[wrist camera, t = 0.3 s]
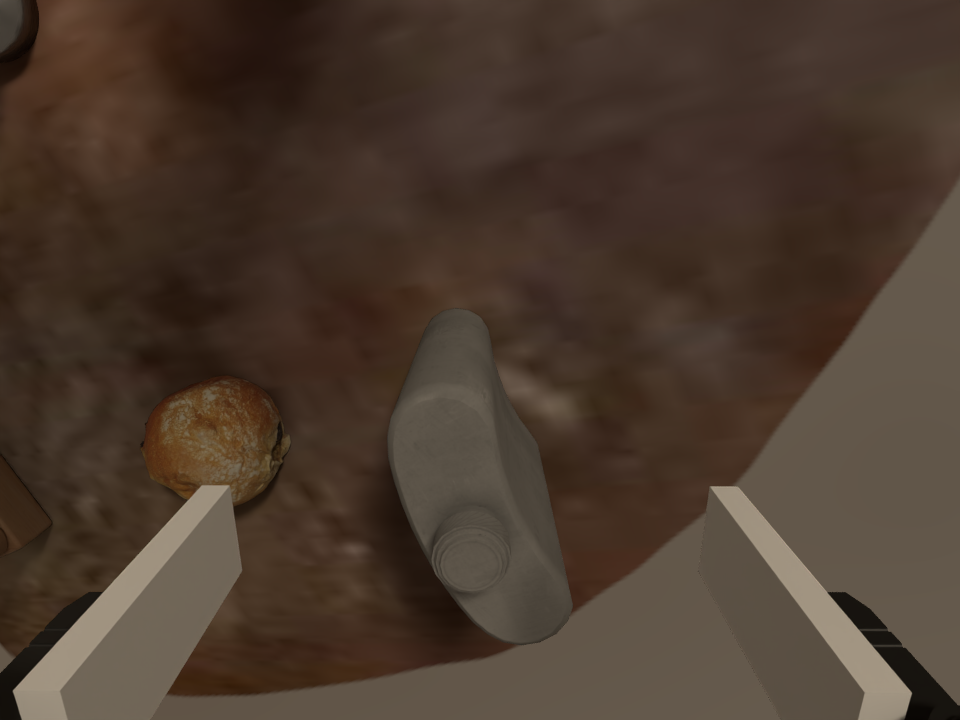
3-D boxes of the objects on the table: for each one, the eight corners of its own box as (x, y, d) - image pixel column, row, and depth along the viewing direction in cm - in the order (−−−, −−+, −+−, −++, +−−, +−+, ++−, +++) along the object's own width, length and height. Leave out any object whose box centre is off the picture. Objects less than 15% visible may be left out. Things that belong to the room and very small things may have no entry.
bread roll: (293, 464, 50) (308, 505, 43) (162, 501, 46) (155, 552, 39) (268, 356, 47) (279, 380, 40) (126, 386, 43) (111, 418, 36)
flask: (402, 327, 43) (338, 443, 23) (474, 297, 42) (469, 391, 23) (480, 492, 47) (481, 707, 27) (548, 467, 46) (596, 669, 27)
